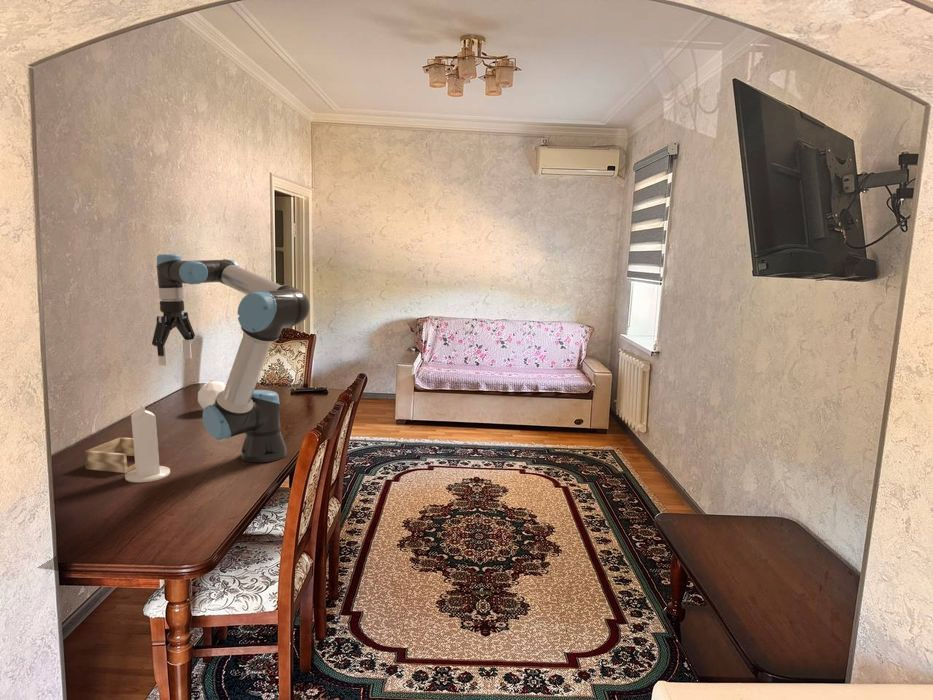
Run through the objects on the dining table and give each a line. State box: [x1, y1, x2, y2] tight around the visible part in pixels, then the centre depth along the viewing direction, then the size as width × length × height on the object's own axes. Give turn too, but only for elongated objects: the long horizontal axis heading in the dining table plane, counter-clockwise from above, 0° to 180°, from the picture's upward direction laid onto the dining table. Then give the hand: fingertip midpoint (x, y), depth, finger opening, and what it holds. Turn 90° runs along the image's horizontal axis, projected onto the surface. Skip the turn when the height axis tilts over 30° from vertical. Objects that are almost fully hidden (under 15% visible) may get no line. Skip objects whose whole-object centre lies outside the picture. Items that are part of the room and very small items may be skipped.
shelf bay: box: [83, 436, 136, 474], centre depth 219 cm, size 15×16×6 cm
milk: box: [130, 404, 160, 477], centre depth 206 cm, size 6×6×22 cm
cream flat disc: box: [124, 465, 171, 484], centre depth 208 cm, size 13×13×1 cm
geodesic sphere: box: [197, 379, 226, 410], centre depth 283 cm, size 15×14×14 cm
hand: (175, 361), depth 225 cm, fingers open, 13 cm apart
